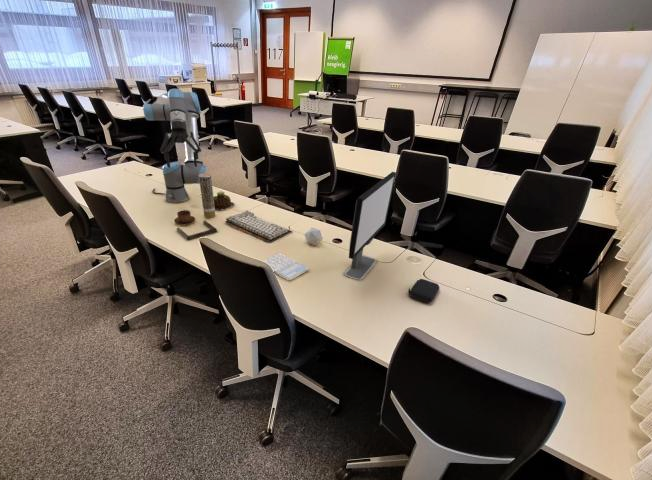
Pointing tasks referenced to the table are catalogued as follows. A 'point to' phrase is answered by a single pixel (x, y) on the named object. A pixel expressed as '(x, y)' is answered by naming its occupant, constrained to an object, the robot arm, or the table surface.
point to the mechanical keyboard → (256, 226)
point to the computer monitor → (368, 224)
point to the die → (313, 236)
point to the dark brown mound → (222, 201)
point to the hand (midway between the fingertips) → (182, 166)
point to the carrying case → (424, 290)
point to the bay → (212, 230)
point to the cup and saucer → (184, 218)
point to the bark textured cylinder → (207, 195)
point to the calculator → (285, 266)
